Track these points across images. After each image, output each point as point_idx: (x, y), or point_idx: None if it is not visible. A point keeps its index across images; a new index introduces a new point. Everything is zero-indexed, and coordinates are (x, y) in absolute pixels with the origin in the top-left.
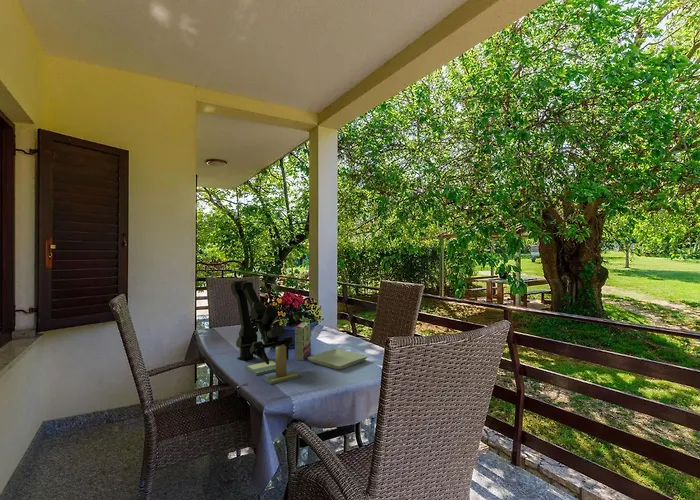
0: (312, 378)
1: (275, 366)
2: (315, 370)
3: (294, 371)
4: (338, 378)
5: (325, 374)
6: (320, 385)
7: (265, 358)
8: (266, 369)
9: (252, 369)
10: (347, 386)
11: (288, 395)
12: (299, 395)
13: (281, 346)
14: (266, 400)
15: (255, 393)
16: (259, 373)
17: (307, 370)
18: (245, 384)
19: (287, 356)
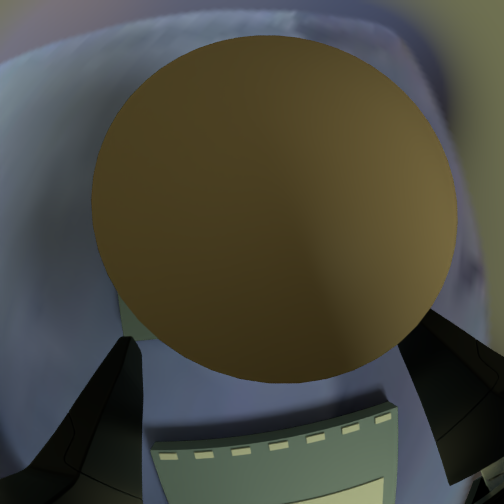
0: (77, 166)
1: (219, 486)
2: (6, 293)
3: (120, 302)
4: (7, 123)
5: (4, 198)
6: (111, 68)
7: (454, 326)
8: (306, 457)
9: (386, 480)
10: (51, 44)
11: (298, 35)
12: (254, 19)
13: (246, 225)
14: (392, 50)
15: (434, 129)
16: (371, 411)
17: (36, 324)
18: (468, 275)
19: (117, 360)
